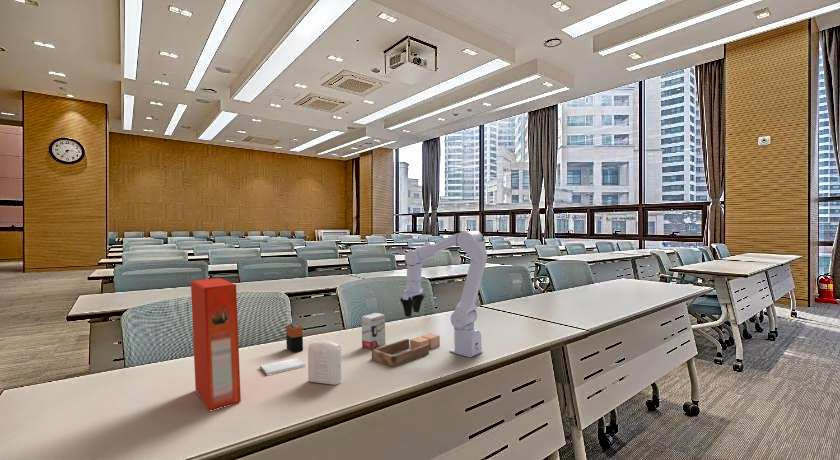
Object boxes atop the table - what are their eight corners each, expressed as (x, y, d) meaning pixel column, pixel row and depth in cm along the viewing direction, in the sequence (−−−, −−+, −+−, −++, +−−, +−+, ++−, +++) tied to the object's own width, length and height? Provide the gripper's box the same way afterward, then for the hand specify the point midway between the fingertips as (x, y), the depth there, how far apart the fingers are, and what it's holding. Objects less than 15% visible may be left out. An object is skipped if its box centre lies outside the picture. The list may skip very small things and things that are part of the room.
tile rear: (439, 346, 152) (439, 335, 152) (431, 349, 148) (430, 338, 148) (430, 343, 156) (429, 333, 155) (421, 346, 152) (421, 336, 152)
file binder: (207, 412, 102) (203, 287, 101) (194, 390, 115) (190, 280, 114) (240, 402, 107) (237, 284, 106) (224, 383, 120) (221, 277, 119)
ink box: (370, 349, 149) (369, 318, 149) (361, 347, 152) (360, 316, 152) (386, 343, 156) (385, 313, 155) (376, 341, 159) (376, 312, 158)
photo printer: (343, 380, 120) (342, 340, 120) (336, 386, 116) (335, 344, 116) (314, 377, 123) (313, 337, 123) (306, 382, 119) (305, 341, 119)
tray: (429, 353, 143) (428, 344, 143) (393, 366, 131) (393, 357, 131) (407, 347, 151) (406, 338, 151) (371, 358, 139) (371, 349, 139)
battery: (297, 346, 155) (297, 320, 154) (303, 350, 149) (302, 324, 149) (286, 348, 152) (285, 322, 152) (291, 353, 146) (291, 326, 146)
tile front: (429, 349, 148) (429, 339, 148) (419, 353, 144) (419, 342, 144) (419, 347, 151) (419, 336, 151) (410, 350, 148) (410, 339, 148)
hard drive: (266, 372, 125) (305, 363, 132) (259, 365, 132) (296, 356, 139) (266, 377, 125) (305, 368, 133) (259, 370, 132) (296, 361, 139)
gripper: (412, 276, 164) (410, 308, 165) (396, 281, 151) (394, 316, 152) (428, 278, 161) (426, 311, 162) (412, 284, 148) (411, 319, 149)
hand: (412, 314), depth 157 cm, fingers open, 7 cm apart
